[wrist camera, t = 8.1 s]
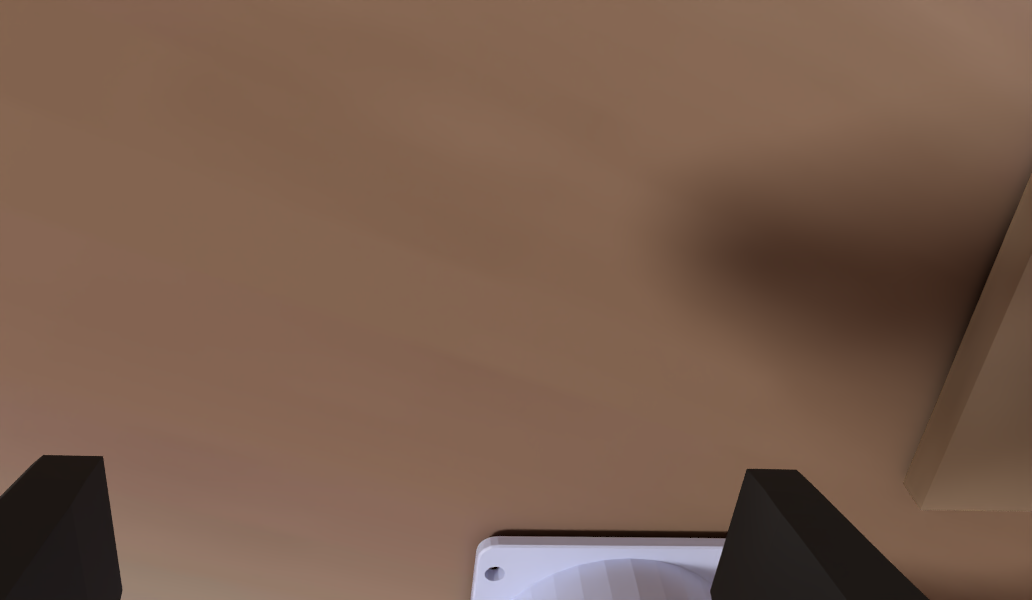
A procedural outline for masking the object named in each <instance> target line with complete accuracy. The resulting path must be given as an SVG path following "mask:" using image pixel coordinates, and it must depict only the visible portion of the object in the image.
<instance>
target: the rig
mask: <svg viewBox="0 0 1032 600" xmlns="http://www.w3.org/2000/svg"><path fill="white" fill-rule="evenodd" d="M903 484H904V485H905V487H906V489H907V490H908V492H909V493H910V495H911V496H912V498H913V500H914V501H915V503H916V504H917V506H918V508H919V509H920V510H953V511H1026V512H1032V173H1031V176H1030V178H1029V181H1028V183H1027V185H1026V188H1025V190H1024V193H1023V195H1022V197H1021V200H1020V202H1019V205H1018V207H1017V209H1016V212H1015V214H1014V217H1013V219H1012V221H1011V224H1010V226H1009V229H1008V231H1007V234H1006V236H1005V238H1004V241H1003V243H1002V246H1001V248H1000V250H999V253H998V255H997V258H996V260H995V262H994V265H993V267H992V270H991V272H990V274H989V277H988V279H987V282H986V284H985V287H984V289H983V291H982V294H981V296H980V299H979V301H978V303H977V306H976V308H975V311H974V313H973V315H972V318H971V320H970V323H969V325H968V328H967V330H966V332H965V335H964V337H963V340H962V342H961V344H960V347H959V349H958V352H957V354H956V356H955V359H954V361H953V364H952V366H951V368H950V371H949V373H948V376H947V378H946V381H945V383H944V385H943V388H942V390H941V393H940V395H939V397H938V400H937V402H936V405H935V407H934V409H933V412H932V414H931V417H930V419H929V422H928V424H927V426H926V429H925V431H924V434H923V436H922V438H921V441H920V443H919V446H918V448H917V450H916V453H915V455H914V458H913V460H912V462H911V465H910V467H909V470H908V472H907V475H906V477H905V479H904V482H903Z"/></svg>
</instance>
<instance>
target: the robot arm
mask: <svg viewBox="0 0 1032 600" xmlns="http://www.w3.org/2000/svg"><path fill="white" fill-rule="evenodd" d="M491 567H500V568H498V569H494V570H492V569H489V568H491ZM121 594H122V584H121V577H120V570H119V564H118V557H117V550H116V543H115V536H114V529H113V522H112V516H111V509H110V502H109V495H108V488H107V481H106V474H105V468H104V461H103V456H62V455H43V456H41V457H40V458H39V459H38V460H37V461H35V462H34V463H33V464H32V465H31V466H30V467H29V468H28V469H27V470H26V471H25V472H24V473H23V474H22V475H21V476H20V477H19V478H18V479H17V480H16V481H15V482H14V483H13V484H12V485H11V486H10V487H9V488H8V489H7V490H6V491H5V492H4V493H3V494H2V495H1V496H0V600H120V599H121ZM471 600H929V599H928V598H927V597H926V596H925V595H924V594H923V593H922V592H921V591H920V590H919V589H918V588H916V587H915V586H914V585H913V584H912V583H911V582H910V581H909V580H908V579H907V578H906V577H905V576H904V575H903V574H902V573H901V572H900V571H899V570H898V569H897V568H896V567H895V566H894V565H893V564H892V563H891V562H890V561H889V560H888V559H887V558H886V557H885V556H884V555H883V554H882V553H881V552H880V551H879V550H878V549H877V548H876V547H874V546H873V545H872V544H871V543H870V542H869V541H868V540H867V539H866V538H865V537H864V536H863V535H862V534H861V533H860V532H859V531H858V530H857V529H856V528H855V527H854V526H853V525H852V524H851V523H850V522H849V521H848V520H847V519H846V518H845V517H844V516H843V515H842V514H841V513H840V512H839V511H838V510H837V509H836V508H835V507H834V506H833V505H832V504H831V503H830V502H829V501H828V500H827V499H826V498H825V497H824V496H823V495H822V494H821V493H820V492H819V491H818V490H817V489H816V488H815V487H814V486H813V485H812V484H811V483H810V482H809V481H808V480H807V479H806V478H805V477H804V476H803V475H802V474H800V473H799V472H798V471H797V470H781V469H747V470H746V473H745V477H744V480H743V483H742V487H741V490H740V493H739V497H738V500H737V503H736V507H735V510H734V513H733V516H732V520H731V523H730V526H729V530H728V533H727V536H726V538H641V537H533V536H495V537H489V538H487V539H485V540H483V541H482V542H481V543H480V544H479V545H478V547H477V550H476V558H475V567H474V575H473V583H472V592H471Z"/></svg>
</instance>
